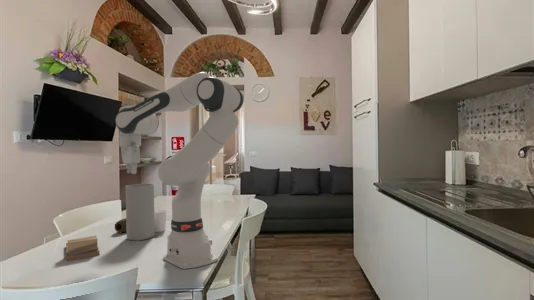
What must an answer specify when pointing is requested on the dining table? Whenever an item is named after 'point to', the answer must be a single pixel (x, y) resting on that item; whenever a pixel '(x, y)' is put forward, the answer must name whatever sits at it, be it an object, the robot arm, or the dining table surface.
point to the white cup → (160, 220)
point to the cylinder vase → (140, 211)
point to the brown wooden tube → (121, 226)
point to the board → (80, 254)
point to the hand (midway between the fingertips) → (131, 173)
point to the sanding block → (82, 245)
